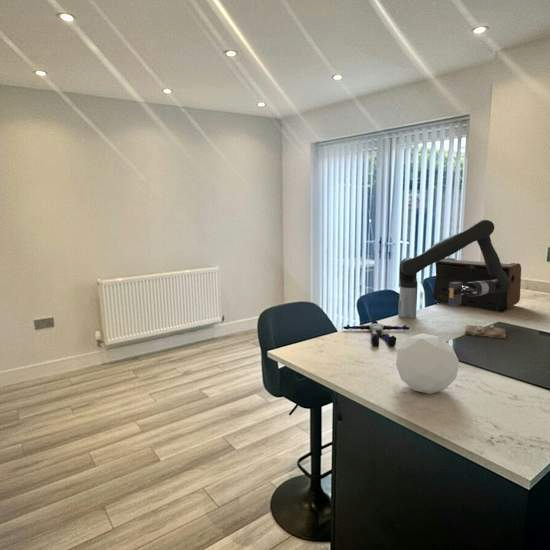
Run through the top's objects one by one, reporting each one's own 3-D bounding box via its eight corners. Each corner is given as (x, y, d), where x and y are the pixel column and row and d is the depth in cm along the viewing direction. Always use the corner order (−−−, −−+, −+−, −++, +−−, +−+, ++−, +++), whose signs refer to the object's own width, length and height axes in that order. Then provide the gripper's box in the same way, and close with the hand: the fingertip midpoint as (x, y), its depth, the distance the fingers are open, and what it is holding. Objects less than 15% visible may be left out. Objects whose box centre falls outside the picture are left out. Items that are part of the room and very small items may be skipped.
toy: (346, 335, 176) (342, 316, 206) (346, 348, 177) (342, 327, 207) (422, 336, 173) (406, 316, 202) (422, 349, 174) (406, 328, 203)
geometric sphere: (409, 408, 134) (373, 359, 137) (441, 375, 144) (408, 329, 146) (448, 404, 118) (407, 348, 120) (482, 366, 127) (444, 315, 130)
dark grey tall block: (455, 302, 202) (456, 281, 200) (461, 304, 199) (462, 282, 197) (448, 303, 200) (449, 282, 199) (453, 305, 197) (454, 283, 195)
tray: (464, 334, 190) (465, 327, 190) (466, 327, 201) (466, 320, 200) (505, 338, 182) (506, 331, 182) (504, 331, 193) (505, 324, 192)
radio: (425, 304, 252) (427, 260, 248) (447, 295, 274) (449, 256, 270) (502, 316, 220) (506, 267, 215) (520, 306, 242) (524, 261, 237)
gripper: (465, 279, 210) (440, 282, 203) (488, 283, 197) (462, 287, 190) (465, 293, 211) (440, 296, 205) (488, 298, 198) (462, 302, 192)
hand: (451, 292), depth 198 cm, fingers closed on dark grey tall block, 3 cm apart
